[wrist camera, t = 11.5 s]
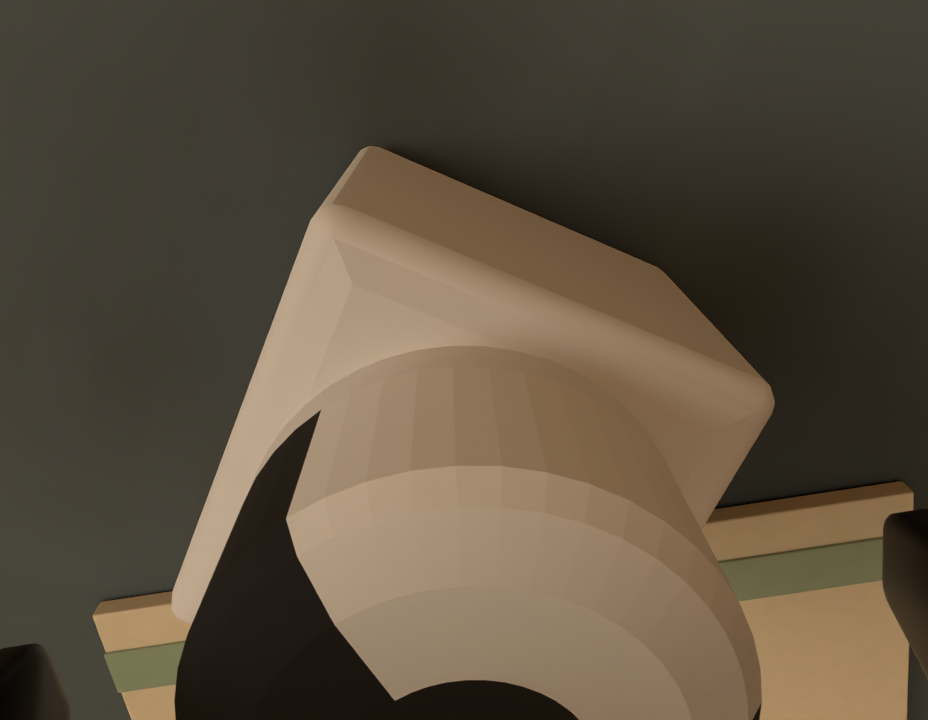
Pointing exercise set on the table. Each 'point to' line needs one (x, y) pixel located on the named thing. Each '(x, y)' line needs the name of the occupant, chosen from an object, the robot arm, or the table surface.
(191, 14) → the table surface
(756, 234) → the table surface
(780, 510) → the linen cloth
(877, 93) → the table surface
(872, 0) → the table surface
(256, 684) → the medicine bottle
